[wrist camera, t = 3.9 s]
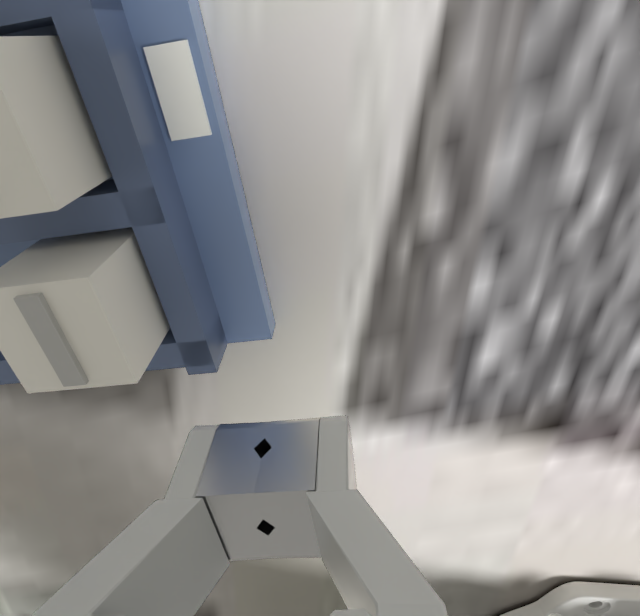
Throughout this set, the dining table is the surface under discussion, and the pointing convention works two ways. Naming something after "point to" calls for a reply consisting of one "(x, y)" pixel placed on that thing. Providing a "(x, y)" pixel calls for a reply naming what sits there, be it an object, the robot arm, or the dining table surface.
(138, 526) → the robot arm
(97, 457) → the dining table surface
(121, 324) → the white box with stripe
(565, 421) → the dining table surface
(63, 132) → the white small carton
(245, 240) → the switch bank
